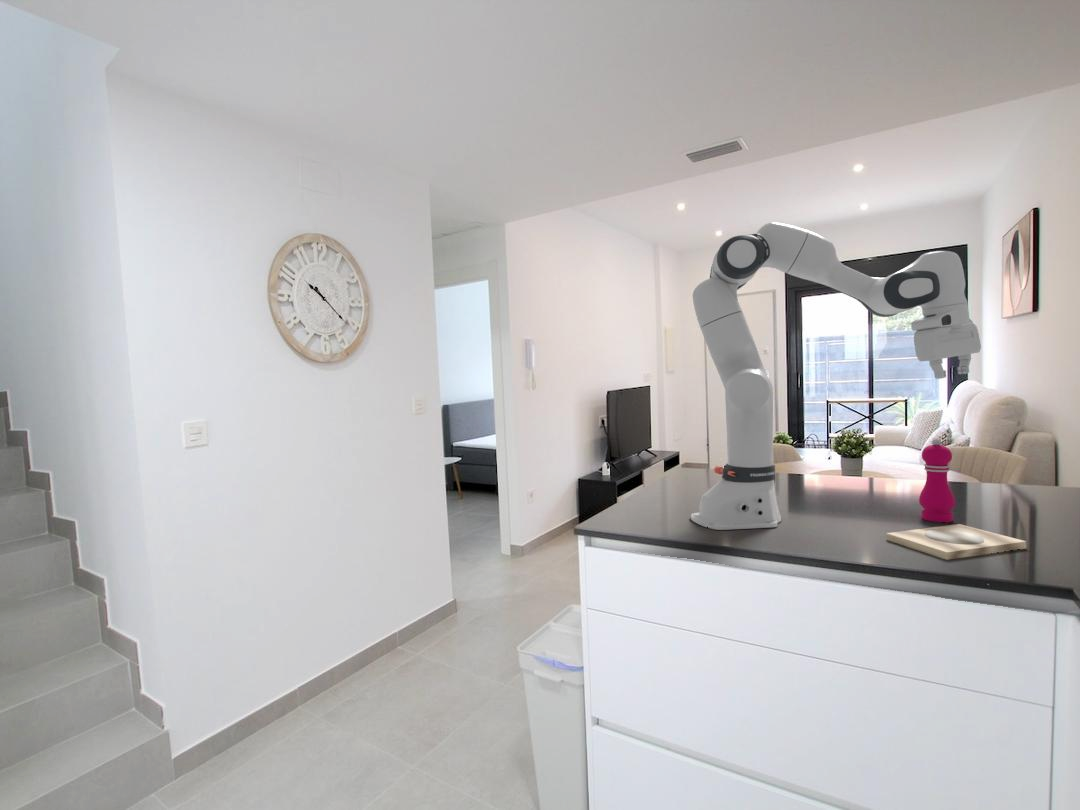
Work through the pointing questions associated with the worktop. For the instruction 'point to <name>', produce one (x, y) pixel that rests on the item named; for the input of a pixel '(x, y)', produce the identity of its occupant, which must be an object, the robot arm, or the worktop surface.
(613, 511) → the worktop surface
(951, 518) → the pepper mill
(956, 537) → the oak board
